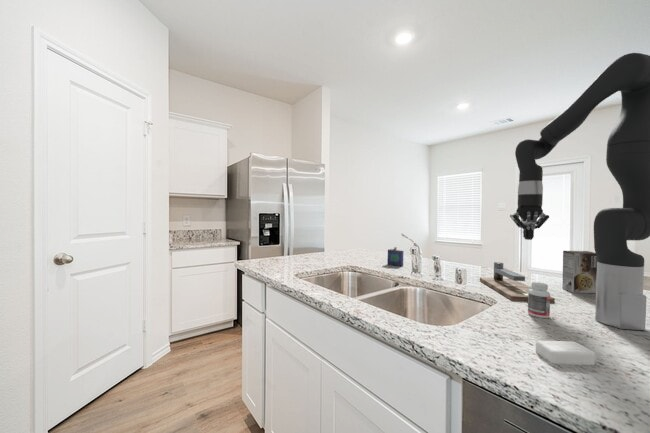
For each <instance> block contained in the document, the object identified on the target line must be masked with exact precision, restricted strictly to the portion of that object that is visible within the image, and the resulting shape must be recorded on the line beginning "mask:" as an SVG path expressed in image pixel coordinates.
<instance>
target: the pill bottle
mask: <svg viewBox="0 0 650 433" xmlns="http://www.w3.org/2000/svg"><path fill="white" fill-rule="evenodd" d="M530 285H531V286H530V287H531V288H532V289H530V290H529V291H528V301H527V313H528V315H530V316H532V317H536V318H542V319H548V318H550V316H551V315H550V314H551V302H550V297H551V294H550V292H549V291H548V288H549V285H548V284H546V283H543V282H535V281H534V282H531V284H530Z"/></svg>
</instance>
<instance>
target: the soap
mask: <svg viewBox="0 0 650 433" xmlns="http://www.w3.org/2000/svg"><path fill="white" fill-rule="evenodd" d="M535 352H536V354H538V355H539V356H541V357H542V358H544V359H545V360H547V361H548V362H549V363H551V364H552V365H569V366H570V365H573V366H574V365H576V366H595V365H596V353H595V352H594V351H592V350H590V349H588V347H587V348H586V347H585V346H583V345H581V344H579V343H578V342H576V341H565V340H563V341H561V340H536V341H535Z"/></svg>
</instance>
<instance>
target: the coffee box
mask: <svg viewBox="0 0 650 433" xmlns="http://www.w3.org/2000/svg"><path fill="white" fill-rule="evenodd" d="M597 262H598V261H597V255H596V253H595V251H594V252H593V251H589V250H563V251H562V281H561V282H562V284H561V285H562V286H561V288H563V289H562V290H565V291H567V290H568V291H567V292H570V293H572V294H596V279H597Z"/></svg>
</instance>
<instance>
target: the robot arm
mask: <svg viewBox="0 0 650 433" xmlns="http://www.w3.org/2000/svg"><path fill="white" fill-rule="evenodd" d="M617 92H620V94H621V107H620V108H621V109H620V114H619V117H618V119H617V122H616V123H615V124H614V126H613V128H612V130H611V132H610V134H609V136H608V138H607V141H606V142H607V143H606V153H605V154H606V157H605V158H606V159H605V161H606V166H607V168H608V170H609V172H610V173H611V175H612V176H613V178H614V179H615V181H616V182H617V184H618V185H619V187H620V190H621V192H622V207H608V208H603V209H601V210H599V211H598V212H597V214H596V215H595V217H594V221H593V243H594V244H593V245H594V246H593V248H594V253H596V255H597V261H598V262H597V279H596V293H595V313H594V314H595V315H594V316H595V320H596V321H597V322H599V323H602V324H604V325H608V326H611V327H614V328H616V329H617V328H618V329H621V330H635V331H636V330H637V331H646V319H647V318H646V316H647V299H648V298H647V296H646V295H645V294H644V278H645V277H644V274H645V258H644V256H643V255H641V254H639V253H636V252H633V251H632V250H631V249H629V247H628V242H627V241H644V240H647V239H648V238H650V54H649V55H648V54H644V53H639V52H632V53H626V54H623V55H622V56H620V57H618V58H616V60H614V61H613V62H612V63H610V64H609V65H608V66H607V67H606V68H605V69H603V71H602V72H601V73H600V74H599V75H598V76H597V77H596V79H594V80H593V81H592V83H591V84H590V85H589V86H588V87H587V88H586V89H585V90H584V91H583V92H582V93H581V94H580V95H579V96H578V97H577V98H576V99H575V100H574V101H573V102H572V103H571V104H570V105H568V107H567V108H566V109H565V110H563V111H562V112H561V113H560V114H558V115H557V116H556V117H555V118H554V119H553V120H551V121H549V123H547V124H546V125H545V126H543V128H542V129H541V130H540V132H539V134H540V138H538V139H537V140H536V139H531V138H530V139H528V138H527V139H522V140H521V141H520V142H518V144H517V146H516V147H515V152H514V154H515V160H516V164H517V167H518V170H519V174H518V176H519V177H518V179H519V180H518V186H517V208H516V211H515V213H512V214H509V217H510V218H511V220H512V221H513V222H514V223H515V225H516V226H517V228H520V229H522V230H523V238H524V240H525V241H526V240H528V241H529V240H530V241H531V240H533V239H534V237H535V236H534V234H535V230H536V229H540V228H541V227H542V226H543V225H544V224H545V223H546V222H547V221H548V219H549V218H550V215H548V214H545V212H544V210H543V208H542V207H543V195H544V194H543V193H544V187H543V186H544V184H543V175H544V174H543V167H542V166H541V165H539V164H537V161H536V160H539V159H543V158H544V157H546V156H547V155H549V153H550V152H551V151H552V150H553V149H554V148H555V147H556V146H557V145H558V144H559V143H560V142H561V141H562V140H564V139H565V138H567V137H568V136H569V135H571V134H572V133H573V132H574V131H576V130H577V129H578V128H579V127H580V126H581V125H582V124H583V123H584V122H585V121H586V120H587V118H588V117H589V115H590V114H591V113H592V111H593V110H594V109H595V108H597V106H598V105H600V104H601V103H602V102H604V101H605V100H606V99H607V98H609V97H611V96H612V95H614V94H616V93H617Z"/></svg>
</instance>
